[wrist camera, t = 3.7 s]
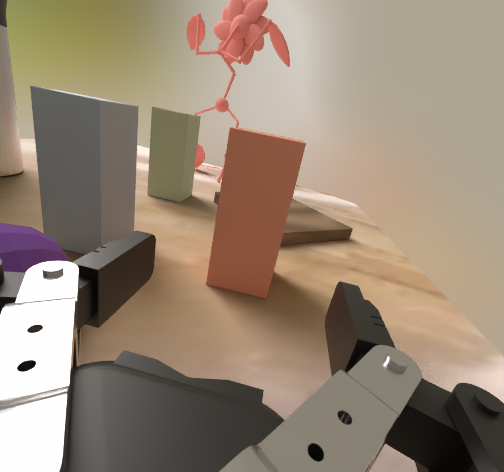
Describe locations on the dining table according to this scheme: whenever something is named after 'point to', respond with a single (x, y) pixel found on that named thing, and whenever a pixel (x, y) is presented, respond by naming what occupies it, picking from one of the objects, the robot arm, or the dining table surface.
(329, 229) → the walnut board
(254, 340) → the dining table surface
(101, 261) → the robot arm
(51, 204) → the blue grey block
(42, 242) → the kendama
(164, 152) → the olive block
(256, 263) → the red block
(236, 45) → the figurine
